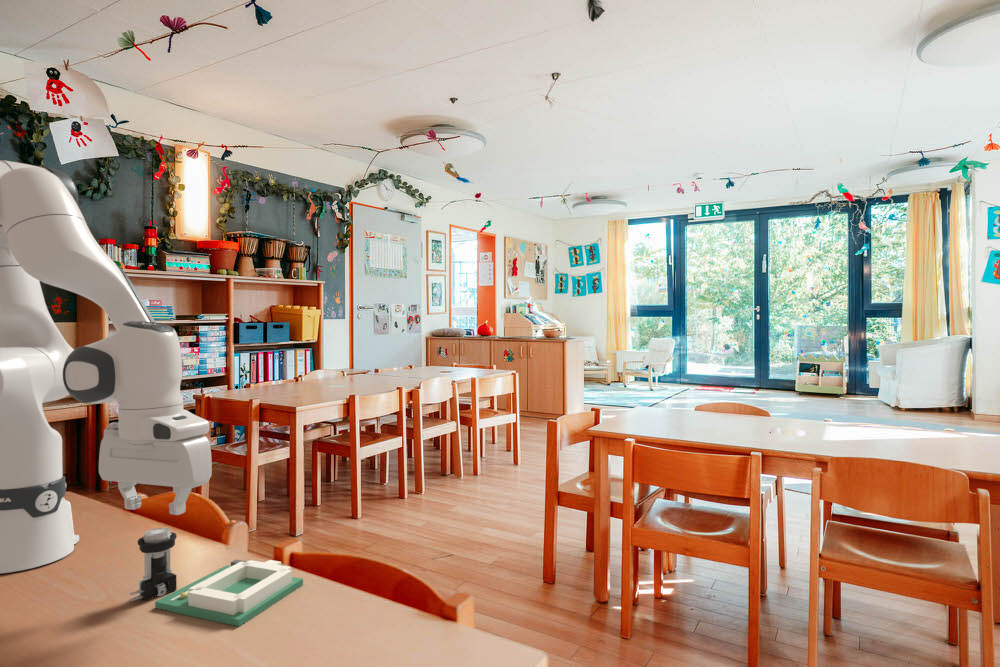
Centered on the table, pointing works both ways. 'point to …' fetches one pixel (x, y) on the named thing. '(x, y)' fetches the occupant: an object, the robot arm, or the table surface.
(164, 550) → the push button
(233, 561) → the lead
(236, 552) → the table surface
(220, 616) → the board
